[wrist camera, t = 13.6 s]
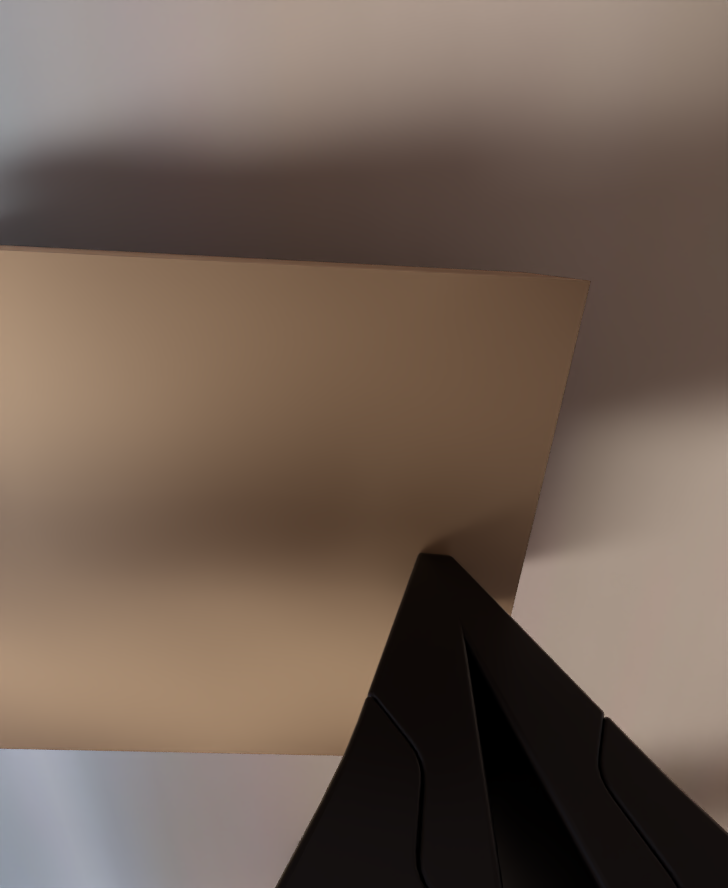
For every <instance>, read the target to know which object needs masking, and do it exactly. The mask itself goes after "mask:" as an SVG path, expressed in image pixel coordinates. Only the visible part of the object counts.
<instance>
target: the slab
mask: <svg viewBox="0 0 728 888" xmlns="http://www.w3.org/2000/svg"><path fill="white" fill-rule="evenodd" d="M590 282H591V281H588V280H580V279H572V278H565V277H557V276H549V275H541V274H533V273H525V272H506V271H487V270H467V269H448V268H429V267H410V266H391V265H372V264H353V263H334V262H314V261H295V260H276V259H257V258H238V257H219V256H200V255H181V254H162V253H142V252H123V251H104V250H85V249H66V248H47V247H28V246H9V245H0V749H47V750H95V751H143V752H192V753H240V754H289V755H337V756H343V755H344V753H345V750H346V748H347V745H348V743H349V740H350V738H351V736H352V733H353V731H354V728H355V726H356V723H357V721H358V718H359V715H360V712H361V710H362V707H363V704H364V701H365V699H366V697H367V695H368V691H369V688H370V686H371V683H372V680H373V677H374V675H375V672H376V669H377V666H378V664H379V661H380V658H381V655H382V653H383V650H384V647H385V644H386V641H387V639H388V636H389V633H390V630H391V628H392V625H393V622H394V619H395V617H396V614H397V611H398V608H399V606H400V603H401V600H402V597H403V595H404V592H405V589H406V586H407V583H408V581H409V578H410V575H411V572H412V570H413V567H414V564H415V561H416V559H417V556H418V554H419V553H430V554H440V555H450V556H452V557H453V558H454V559H455V560H456V561H457V562H458V563H459V564H460V565H461V566H462V567H463V568H464V569H465V570H466V571H467V572H468V573H469V574H470V575H471V576H472V577H473V578H474V579H475V580H476V581H477V582H478V583H479V584H480V585H481V586H482V587H483V588H484V589H485V590H486V591H487V593H488V594H489V595H490V596H491V597H492V598H493V599H494V600H495V601H496V602H497V603H498V604H499V605H500V606H501V607H502V608H503V609H504V610H505V611H506V612H507V613H508V614H509V615H510V616H511V613H512V608H513V604H514V600H515V596H516V592H517V588H518V583H519V579H520V575H521V571H522V567H523V562H524V558H525V554H526V550H527V546H528V541H529V537H530V533H531V529H532V525H533V521H534V516H535V512H536V508H537V504H538V500H539V495H540V491H541V487H542V483H543V479H544V474H545V470H546V466H547V462H548V458H549V453H550V449H551V445H552V441H553V437H554V433H555V428H556V424H557V420H558V416H559V412H560V407H561V403H562V399H563V395H564V391H565V386H566V382H567V378H568V374H569V370H570V366H571V361H572V357H573V353H574V349H575V345H576V340H577V336H578V332H579V328H580V324H581V319H582V315H583V311H584V307H585V303H586V299H587V294H588V290H589V286H590Z"/></svg>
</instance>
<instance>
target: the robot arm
mask: <svg viewBox="0 0 728 888" xmlns="http://www.w3.org/2000/svg"><path fill="white" fill-rule="evenodd" d="M275 888H728V832H726V831H725V830H724V829H723V828H722V827H721V826H720V825H719V824H718V823H717V822H716V821H715V820H714V819H712V818H711V817H710V816H709V815H708V814H707V813H706V812H705V811H704V810H703V809H702V808H701V807H700V806H699V805H697V804H696V803H695V802H694V801H693V800H692V799H691V798H690V797H689V796H688V795H687V794H686V793H685V792H684V791H682V790H681V789H680V788H679V787H678V786H677V785H676V784H675V783H674V782H673V781H672V780H671V779H670V778H669V777H668V776H667V775H666V774H665V773H664V772H663V771H662V770H661V769H660V768H659V767H658V766H657V765H656V764H655V763H654V762H653V761H652V760H651V759H650V758H649V757H648V756H647V755H646V754H645V753H644V752H643V751H642V750H641V749H640V748H639V747H638V746H637V745H636V744H635V743H634V742H633V741H632V740H631V739H630V738H629V737H628V736H627V735H626V734H625V733H624V732H623V731H622V730H621V729H620V728H619V727H618V726H617V725H616V724H615V723H614V722H613V721H612V720H611V719H610V718H609V717H605V718H604V712H603V711H602V710H601V709H600V708H599V707H598V706H597V705H596V704H595V703H594V702H593V701H592V700H591V698H590V697H589V696H588V695H587V694H586V693H585V692H584V691H583V690H582V689H581V688H580V687H579V686H578V685H577V684H576V683H575V682H574V681H573V680H572V679H571V678H570V677H569V676H568V675H567V674H566V673H565V672H564V671H563V670H562V669H561V668H560V667H559V666H558V665H557V663H556V662H555V661H554V660H553V659H552V658H551V657H550V656H549V655H548V654H547V653H546V652H545V651H544V650H543V649H542V648H541V647H540V646H539V645H538V644H537V643H536V642H535V641H534V640H533V639H532V638H531V637H530V636H529V635H528V634H527V633H526V632H525V631H524V630H523V629H522V627H521V626H520V625H519V624H518V623H517V622H516V621H515V620H514V619H513V618H512V617H511V616H510V615H509V614H508V613H507V612H506V611H505V610H504V609H503V608H502V607H501V606H500V605H499V604H498V603H497V602H496V601H495V600H494V599H493V598H492V597H491V596H490V595H489V594H488V593H487V591H486V590H485V589H484V588H483V587H482V586H481V585H480V584H479V583H478V582H477V581H476V580H475V579H474V578H473V577H472V576H471V575H470V574H469V573H468V572H467V571H466V570H465V569H464V568H463V567H462V566H461V565H460V564H459V563H458V562H457V561H456V560H455V559H454V558H453V557H452V556H450V555H440V554H430V553H419V554H418V556H417V559H416V561H415V564H414V567H413V570H412V572H411V575H410V578H409V581H408V583H407V586H406V589H405V592H404V595H403V597H402V600H401V603H400V606H399V608H398V611H397V614H396V617H395V619H394V622H393V625H392V628H391V630H390V633H389V636H388V639H387V641H386V644H385V647H384V650H383V653H382V655H381V658H380V661H379V664H378V666H377V669H376V672H375V675H374V677H373V680H372V683H371V686H370V688H369V691H368V695H367V697H366V699H365V701H364V704H363V707H362V710H361V712H360V715H359V718H358V721H357V723H356V726H355V728H354V731H353V733H352V736H351V738H350V740H349V743H348V745H347V748H346V750H345V753H344V755H343V758H342V760H341V762H340V764H339V766H338V768H337V770H336V772H335V774H334V776H333V778H332V780H331V782H330V784H329V786H328V788H327V790H326V792H325V795H324V797H323V799H322V801H321V803H320V805H319V806H318V808H317V810H316V812H315V814H314V816H313V818H312V820H311V821H310V823H309V825H308V827H307V829H306V831H305V833H304V835H303V837H302V838H301V840H300V842H299V844H298V846H297V848H296V850H295V852H294V853H293V855H292V857H291V859H290V861H289V863H288V865H287V867H286V869H285V870H284V872H283V874H282V876H281V878H280V880H279V882H278V884H277V885H276V887H275Z"/></svg>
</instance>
